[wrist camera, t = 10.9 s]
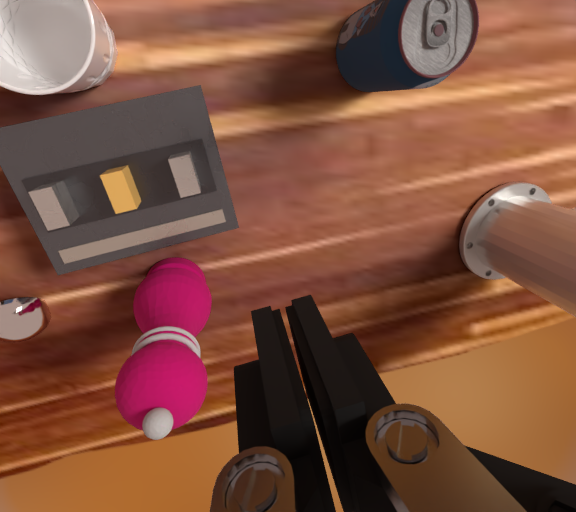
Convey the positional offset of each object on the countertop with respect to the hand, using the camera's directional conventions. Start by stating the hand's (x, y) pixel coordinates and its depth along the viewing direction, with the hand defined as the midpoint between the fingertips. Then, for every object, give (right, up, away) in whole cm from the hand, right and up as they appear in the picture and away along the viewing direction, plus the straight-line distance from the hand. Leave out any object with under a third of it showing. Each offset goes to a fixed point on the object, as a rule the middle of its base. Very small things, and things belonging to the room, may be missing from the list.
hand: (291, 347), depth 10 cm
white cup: (-18, +20, +20) cm, 33 cm away
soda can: (+7, +22, +25) cm, 34 cm away
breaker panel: (-14, +10, +24) cm, 30 cm away
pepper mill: (-12, 0, +29) cm, 32 cm away
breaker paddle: (-13, +8, +20) cm, 25 cm away
